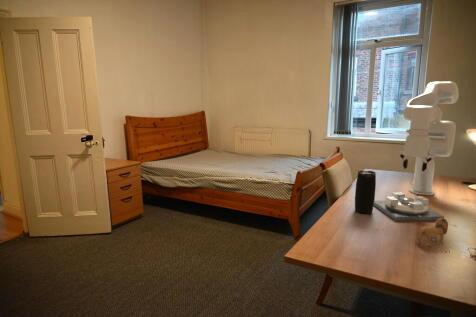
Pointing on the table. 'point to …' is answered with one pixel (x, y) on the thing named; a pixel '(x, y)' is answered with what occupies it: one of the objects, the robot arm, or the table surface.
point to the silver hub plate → (407, 204)
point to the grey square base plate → (407, 217)
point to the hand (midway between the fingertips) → (414, 169)
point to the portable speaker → (365, 191)
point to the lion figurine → (434, 231)
